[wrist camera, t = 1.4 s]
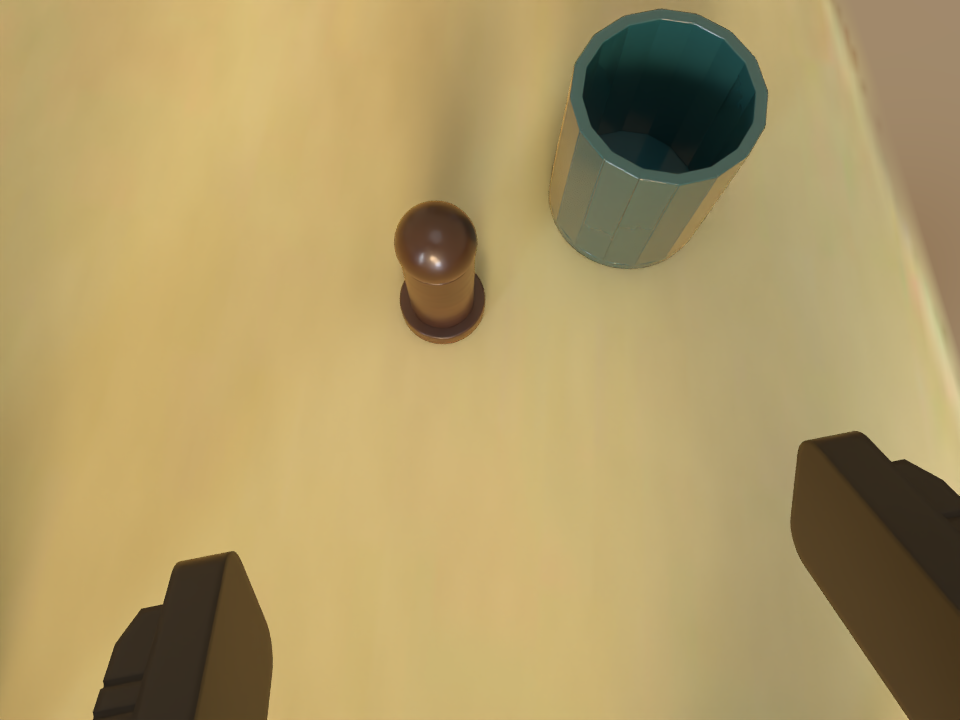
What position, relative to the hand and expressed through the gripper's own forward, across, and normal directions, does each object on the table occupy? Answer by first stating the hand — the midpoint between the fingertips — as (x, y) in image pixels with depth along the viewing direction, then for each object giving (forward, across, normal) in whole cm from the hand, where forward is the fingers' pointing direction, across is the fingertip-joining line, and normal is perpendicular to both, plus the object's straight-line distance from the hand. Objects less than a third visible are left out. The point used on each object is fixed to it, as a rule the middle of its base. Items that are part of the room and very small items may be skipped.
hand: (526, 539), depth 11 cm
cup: (+28, -10, +6) cm, 30 cm away
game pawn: (+25, 0, +9) cm, 27 cm away
